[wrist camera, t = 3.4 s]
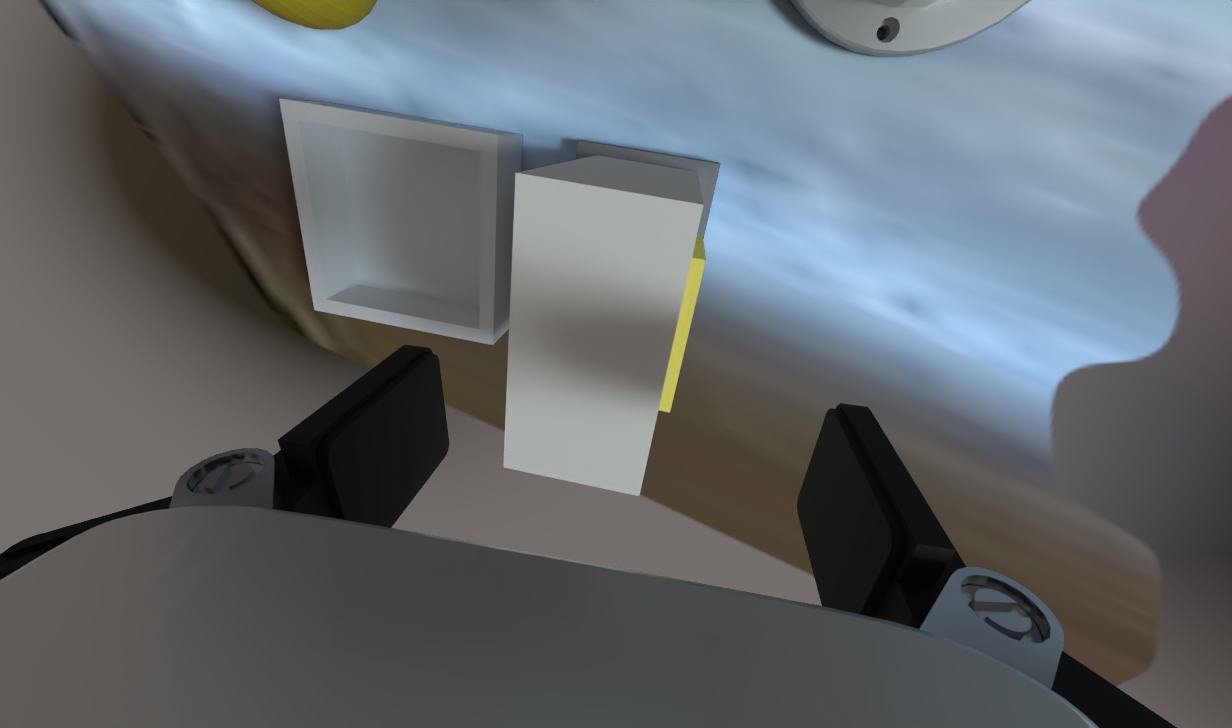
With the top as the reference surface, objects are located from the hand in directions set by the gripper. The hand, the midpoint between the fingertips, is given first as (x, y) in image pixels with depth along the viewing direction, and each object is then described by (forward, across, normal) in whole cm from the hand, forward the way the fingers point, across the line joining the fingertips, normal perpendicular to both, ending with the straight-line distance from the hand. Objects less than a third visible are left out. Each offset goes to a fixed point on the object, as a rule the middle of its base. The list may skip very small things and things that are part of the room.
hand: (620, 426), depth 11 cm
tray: (+16, +14, -1) cm, 21 cm away
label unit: (+17, +2, 0) cm, 17 cm away
